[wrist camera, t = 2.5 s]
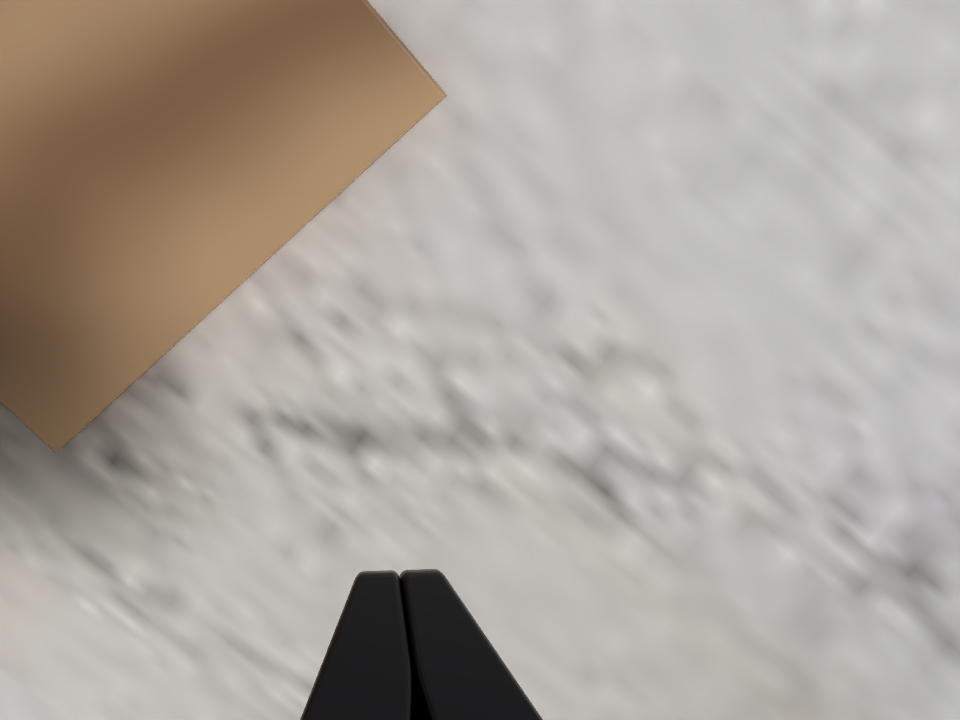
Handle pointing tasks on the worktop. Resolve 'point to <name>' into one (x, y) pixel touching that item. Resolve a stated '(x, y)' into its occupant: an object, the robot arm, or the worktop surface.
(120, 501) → the worktop surface
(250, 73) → the press base
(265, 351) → the worktop surface
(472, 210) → the worktop surface
